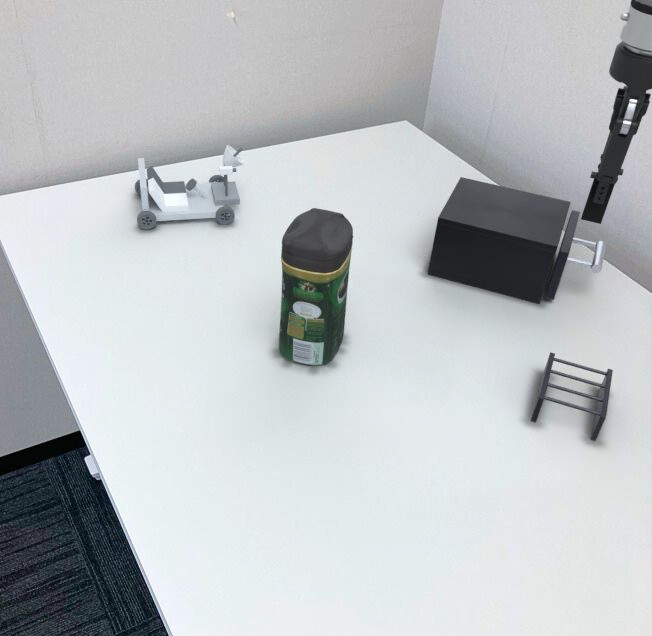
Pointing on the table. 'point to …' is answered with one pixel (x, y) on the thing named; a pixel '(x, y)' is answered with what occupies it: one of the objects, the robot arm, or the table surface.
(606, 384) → the rack
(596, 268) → the grey drawer
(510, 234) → the box
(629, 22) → the robot arm
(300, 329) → the coffee jar
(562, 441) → the table surface
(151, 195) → the toy car
